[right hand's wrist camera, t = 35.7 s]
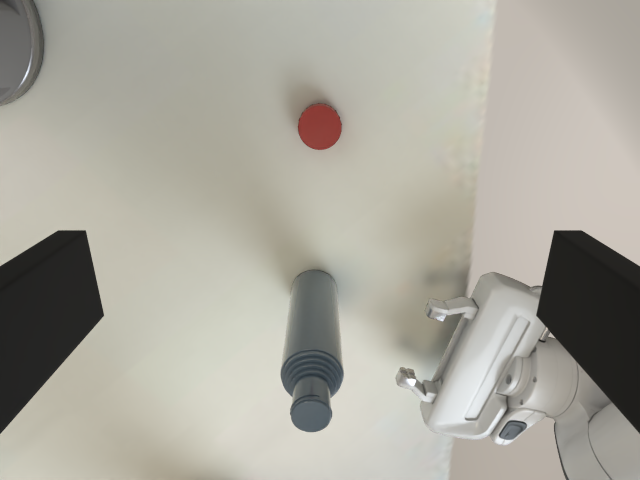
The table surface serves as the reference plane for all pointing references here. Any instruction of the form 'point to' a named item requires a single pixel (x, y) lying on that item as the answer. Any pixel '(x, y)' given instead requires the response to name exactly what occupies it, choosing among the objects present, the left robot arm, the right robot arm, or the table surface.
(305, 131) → the cap
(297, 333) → the bottle
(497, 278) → the left robot arm
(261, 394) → the table surface
